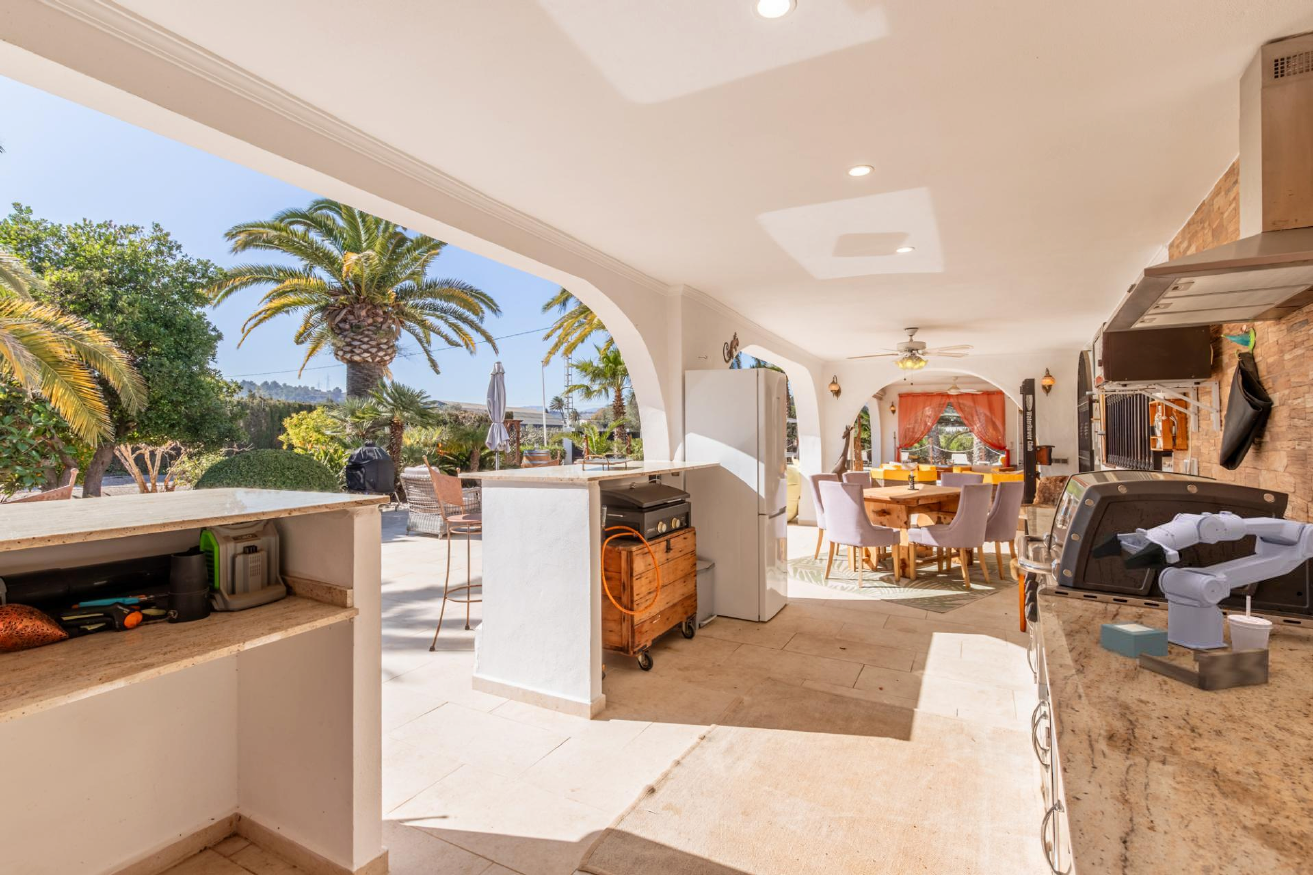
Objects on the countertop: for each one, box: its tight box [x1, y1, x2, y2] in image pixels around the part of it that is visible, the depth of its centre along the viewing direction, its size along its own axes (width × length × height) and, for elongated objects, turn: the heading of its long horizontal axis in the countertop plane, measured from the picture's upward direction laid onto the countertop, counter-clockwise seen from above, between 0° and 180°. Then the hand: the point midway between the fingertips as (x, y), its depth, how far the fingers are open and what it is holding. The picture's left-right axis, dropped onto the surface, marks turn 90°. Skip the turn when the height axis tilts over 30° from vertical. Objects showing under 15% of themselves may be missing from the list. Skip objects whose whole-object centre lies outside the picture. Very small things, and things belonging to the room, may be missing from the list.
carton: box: [1100, 621, 1169, 660], centre depth 129 cm, size 9×7×5 cm
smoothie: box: [1226, 595, 1274, 651], centre depth 119 cm, size 6×6×14 cm
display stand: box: [1138, 647, 1270, 691], centre depth 116 cm, size 15×12×6 cm
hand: (1108, 559), depth 131 cm, fingers open, 7 cm apart
